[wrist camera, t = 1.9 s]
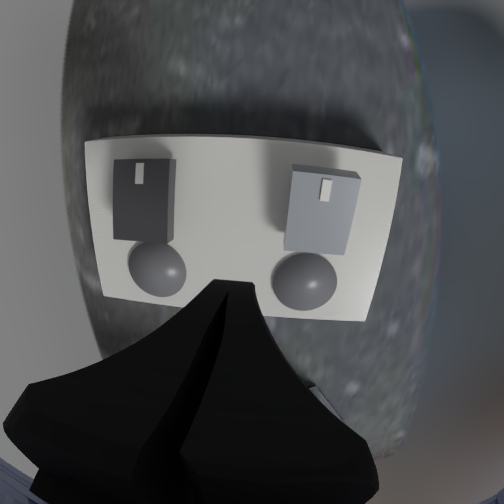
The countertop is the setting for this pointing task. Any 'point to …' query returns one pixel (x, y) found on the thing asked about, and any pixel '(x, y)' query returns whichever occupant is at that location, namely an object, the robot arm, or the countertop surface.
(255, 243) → the switch panel
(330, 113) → the countertop surface
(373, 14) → the countertop surface
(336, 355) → the countertop surface
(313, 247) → the block
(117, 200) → the block
